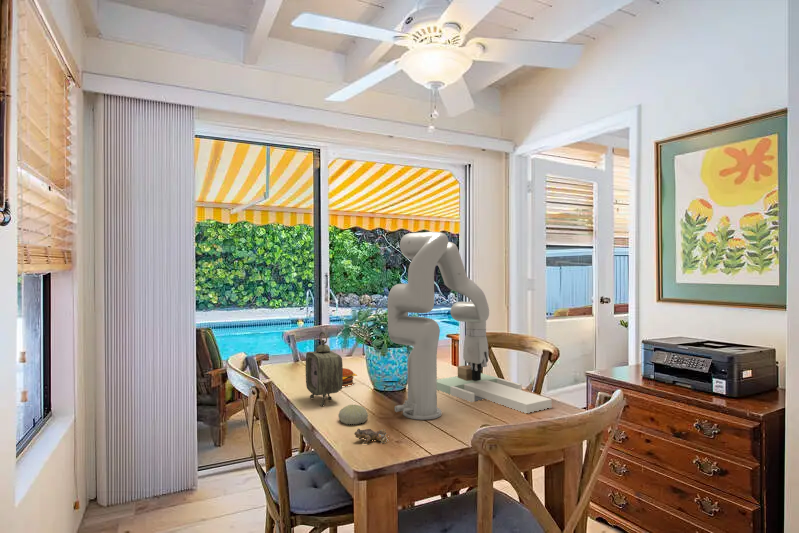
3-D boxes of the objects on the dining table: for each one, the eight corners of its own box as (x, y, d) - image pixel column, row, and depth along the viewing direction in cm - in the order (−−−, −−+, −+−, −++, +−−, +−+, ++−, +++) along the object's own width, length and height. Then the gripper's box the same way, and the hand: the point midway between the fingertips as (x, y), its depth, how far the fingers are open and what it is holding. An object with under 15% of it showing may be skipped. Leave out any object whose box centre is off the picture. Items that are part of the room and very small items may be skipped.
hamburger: (340, 381, 206) (340, 365, 206) (358, 384, 201) (358, 368, 201) (325, 385, 198) (325, 369, 198) (343, 389, 193) (343, 372, 193)
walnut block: (466, 380, 193) (466, 369, 193) (457, 377, 198) (457, 366, 198) (478, 379, 196) (478, 367, 196) (469, 375, 201) (469, 365, 201)
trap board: (512, 417, 157) (512, 407, 157) (431, 387, 194) (431, 380, 194) (564, 404, 170) (564, 396, 170) (479, 379, 207) (479, 372, 207)
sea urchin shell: (342, 422, 147) (338, 398, 152) (339, 434, 152) (336, 411, 158) (371, 419, 149) (367, 396, 155) (367, 431, 155) (363, 408, 160)
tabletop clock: (305, 398, 179) (305, 330, 179) (329, 395, 184) (328, 328, 184) (319, 408, 167) (319, 335, 166) (344, 404, 171) (343, 333, 171)
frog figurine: (361, 452, 129) (361, 437, 129) (346, 437, 140) (346, 424, 140) (400, 445, 134) (400, 431, 134) (383, 431, 145) (383, 418, 145)
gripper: (456, 331, 194) (456, 377, 194) (482, 336, 182) (482, 385, 182) (470, 330, 198) (470, 375, 198) (497, 334, 186) (497, 382, 186)
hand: (476, 380), depth 190 cm, fingers closed
